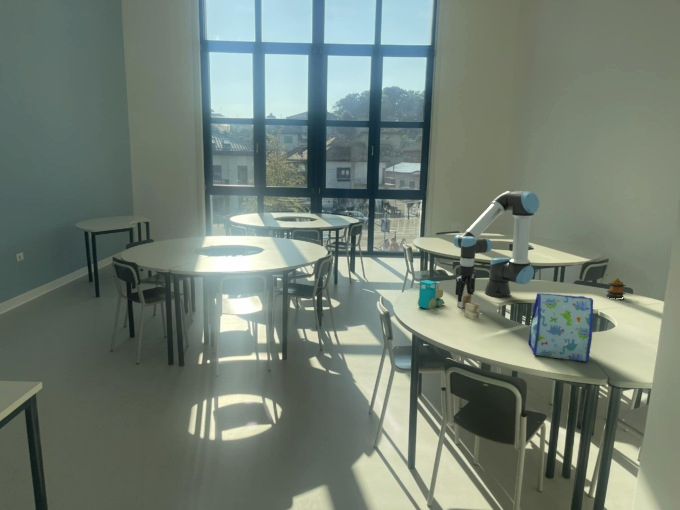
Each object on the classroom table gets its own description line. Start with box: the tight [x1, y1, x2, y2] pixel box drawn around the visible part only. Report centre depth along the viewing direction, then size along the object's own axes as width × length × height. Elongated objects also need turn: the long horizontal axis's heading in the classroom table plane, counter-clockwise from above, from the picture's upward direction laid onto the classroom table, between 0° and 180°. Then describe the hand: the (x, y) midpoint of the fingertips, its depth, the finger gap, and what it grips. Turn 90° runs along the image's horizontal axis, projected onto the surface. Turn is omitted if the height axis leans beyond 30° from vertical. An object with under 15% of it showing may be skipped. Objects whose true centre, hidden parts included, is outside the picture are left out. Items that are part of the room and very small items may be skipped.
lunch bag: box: [528, 292, 594, 363], centre depth 199 cm, size 22×17×26 cm
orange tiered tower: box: [606, 277, 627, 299], centre depth 294 cm, size 13×10×12 cm
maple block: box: [464, 301, 481, 320], centre depth 242 cm, size 5×5×7 cm
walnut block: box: [457, 292, 472, 310], centre depth 258 cm, size 5×5×7 cm
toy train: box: [417, 279, 445, 310], centre depth 261 cm, size 8×17×15 cm, turn 136°
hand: (464, 306), depth 259 cm, fingers closed on walnut block, 5 cm apart
